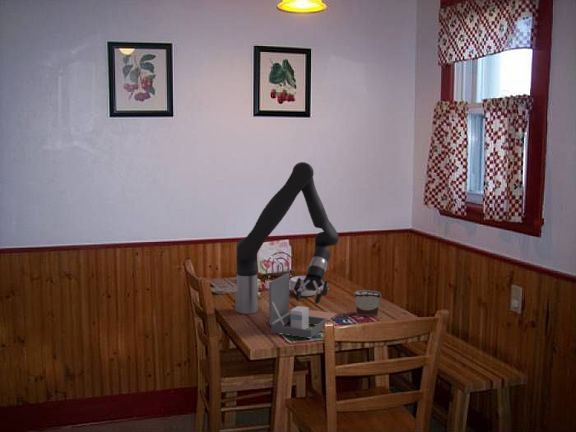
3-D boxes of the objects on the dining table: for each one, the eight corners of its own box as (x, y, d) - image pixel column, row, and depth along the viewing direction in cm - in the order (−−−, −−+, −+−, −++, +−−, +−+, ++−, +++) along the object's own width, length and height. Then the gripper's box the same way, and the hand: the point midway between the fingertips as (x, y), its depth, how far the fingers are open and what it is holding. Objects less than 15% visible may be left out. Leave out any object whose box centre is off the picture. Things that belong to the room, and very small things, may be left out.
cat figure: (265, 302, 315) (264, 285, 340) (265, 285, 313) (264, 269, 338) (244, 302, 315) (245, 285, 339) (244, 285, 313) (245, 269, 337)
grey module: (290, 331, 267) (290, 310, 266) (297, 326, 274) (297, 305, 273) (301, 333, 265) (301, 312, 264) (308, 328, 272) (308, 307, 270)
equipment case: (269, 332, 266) (269, 282, 263) (287, 320, 282) (287, 273, 278) (311, 339, 258) (311, 287, 255) (327, 326, 274) (327, 277, 271)
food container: (380, 311, 295) (381, 290, 294) (381, 315, 289) (381, 293, 288) (353, 310, 296) (353, 289, 295) (353, 314, 290) (353, 293, 289)
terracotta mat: (295, 320, 282) (295, 319, 282) (310, 310, 296) (310, 310, 296) (323, 324, 276) (323, 323, 276) (337, 314, 291) (337, 313, 291)
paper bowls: (302, 288, 335) (302, 273, 334) (326, 293, 326) (326, 278, 324) (283, 294, 324) (283, 279, 322) (307, 300, 314) (307, 284, 313)
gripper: (299, 263, 283) (288, 295, 275) (330, 266, 277) (320, 299, 269) (304, 272, 289) (293, 304, 280) (334, 275, 283) (324, 308, 274)
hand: (306, 301), depth 275 cm, fingers open, 8 cm apart
